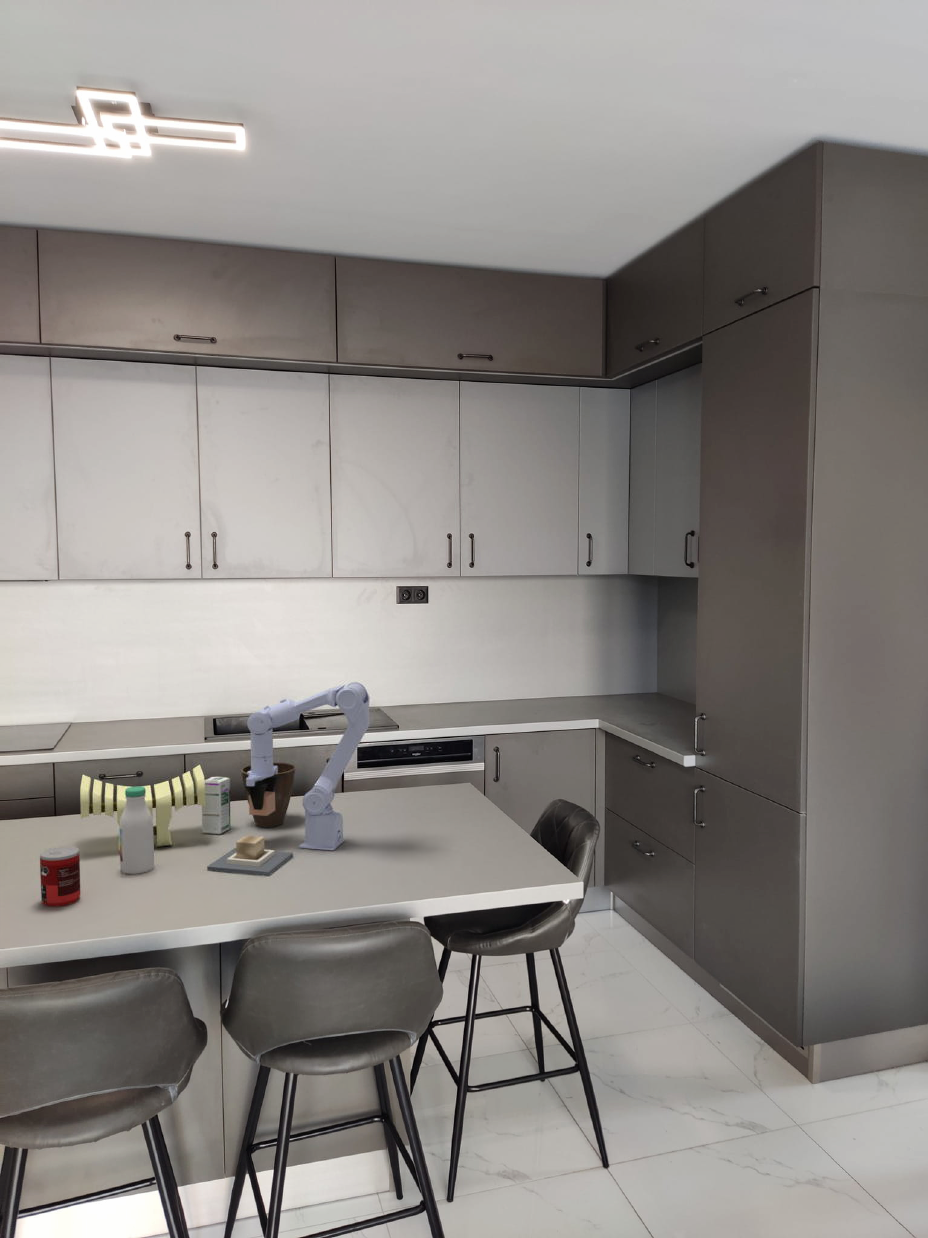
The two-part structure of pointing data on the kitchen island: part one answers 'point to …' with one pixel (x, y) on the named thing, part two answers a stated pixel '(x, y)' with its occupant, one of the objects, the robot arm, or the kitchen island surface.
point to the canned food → (60, 876)
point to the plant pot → (281, 795)
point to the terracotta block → (264, 805)
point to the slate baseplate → (250, 863)
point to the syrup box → (216, 805)
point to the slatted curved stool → (146, 800)
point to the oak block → (250, 848)
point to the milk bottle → (136, 833)
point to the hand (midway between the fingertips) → (262, 806)
